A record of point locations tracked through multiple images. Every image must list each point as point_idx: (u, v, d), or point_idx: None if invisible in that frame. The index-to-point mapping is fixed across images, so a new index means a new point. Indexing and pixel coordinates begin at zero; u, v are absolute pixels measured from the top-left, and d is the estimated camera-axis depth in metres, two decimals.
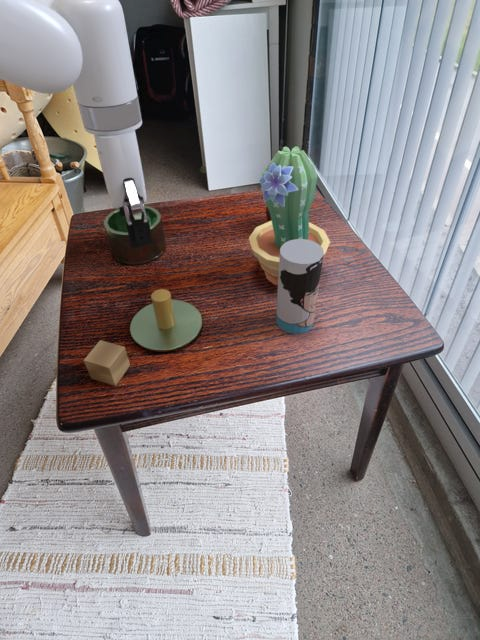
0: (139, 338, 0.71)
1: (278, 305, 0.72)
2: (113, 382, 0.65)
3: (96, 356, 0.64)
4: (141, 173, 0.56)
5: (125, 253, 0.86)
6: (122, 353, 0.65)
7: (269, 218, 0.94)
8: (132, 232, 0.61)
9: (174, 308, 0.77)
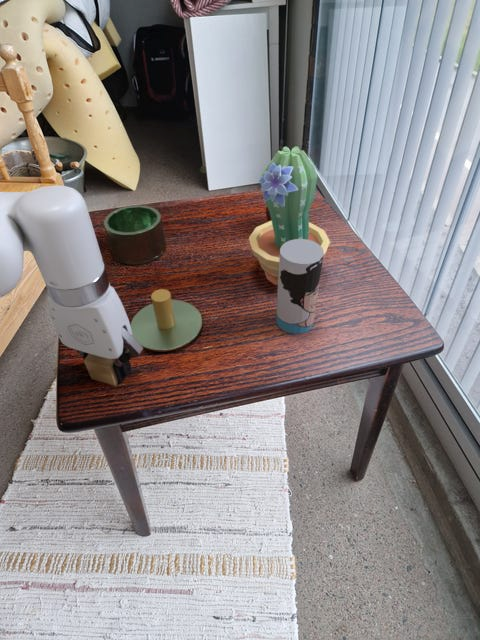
0: (139, 338, 0.71)
1: (278, 305, 0.72)
2: (113, 382, 0.65)
3: (96, 356, 0.64)
4: None
5: (125, 253, 0.86)
6: None
7: (269, 218, 0.94)
8: (119, 370, 0.64)
9: (174, 308, 0.77)
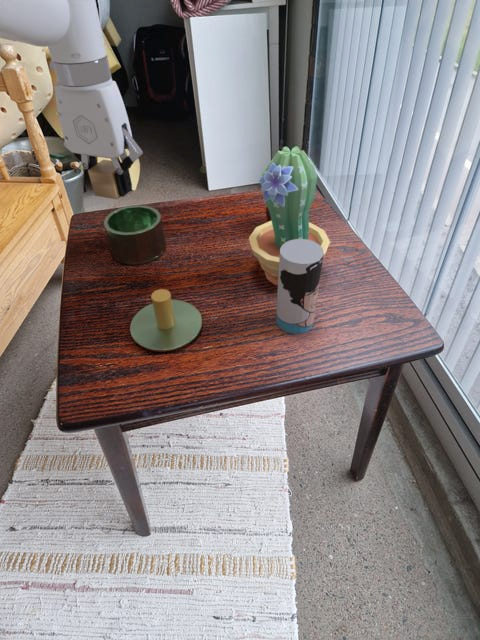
0: (139, 338, 0.71)
1: (278, 305, 0.72)
2: (115, 194, 0.70)
3: (99, 168, 0.69)
4: (127, 118, 0.65)
5: (125, 253, 0.86)
6: None
7: (269, 218, 0.94)
8: (121, 181, 0.70)
9: (174, 308, 0.77)
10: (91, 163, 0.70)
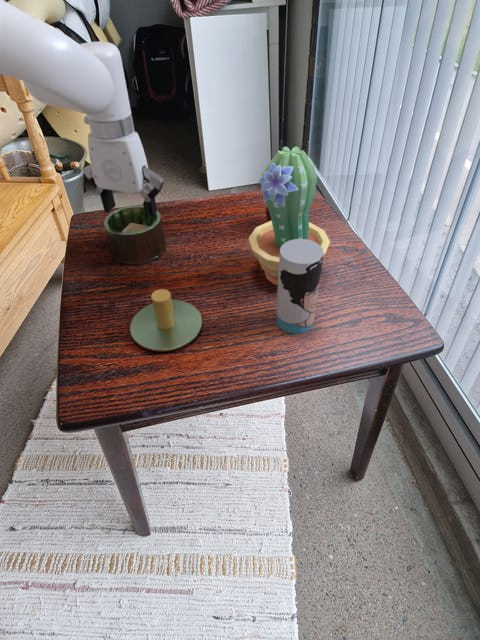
0: (139, 338, 0.71)
1: (278, 305, 0.72)
2: None
3: (129, 231, 0.89)
4: (146, 160, 0.79)
5: (125, 253, 0.86)
6: None
7: (269, 218, 0.94)
8: (148, 207, 0.82)
9: (174, 308, 0.77)
10: (103, 189, 0.84)
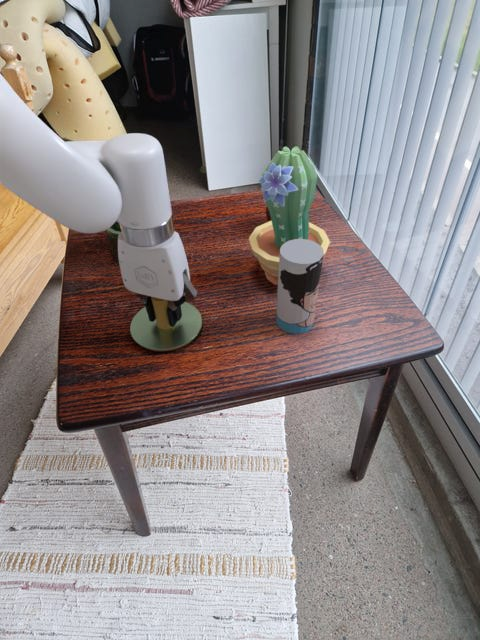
0: (139, 338, 0.71)
1: (278, 305, 0.72)
2: None
3: None
4: None
5: None
6: None
7: (269, 218, 0.94)
8: (172, 314, 0.70)
9: None
10: (149, 298, 0.70)
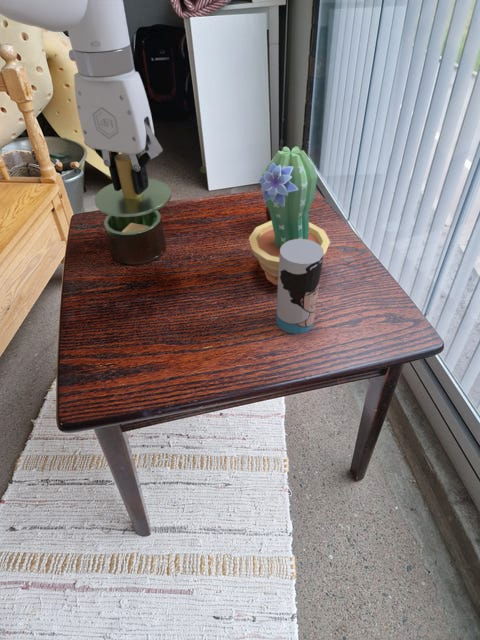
0: (103, 206, 0.68)
1: (278, 305, 0.72)
2: None
3: (129, 231, 0.89)
4: (149, 111, 0.61)
5: (125, 253, 0.86)
6: None
7: (269, 218, 0.94)
8: (137, 179, 0.67)
9: None
10: (113, 160, 0.66)
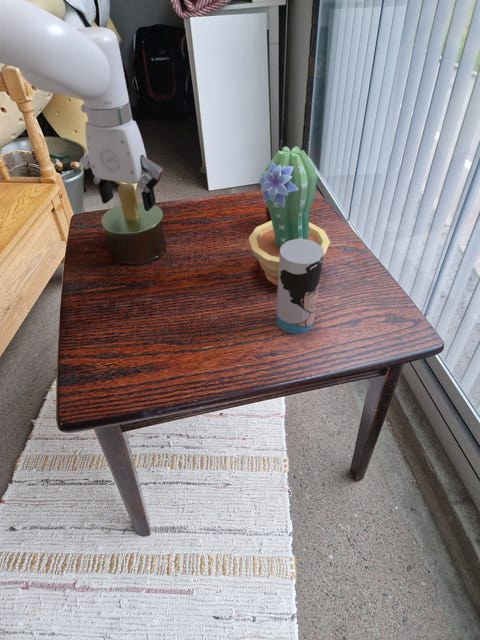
0: (108, 226, 0.84)
1: (278, 305, 0.72)
2: None
3: None
4: (144, 150, 0.78)
5: (125, 253, 0.86)
6: None
7: (269, 218, 0.94)
8: (147, 198, 0.81)
9: (140, 207, 0.90)
10: (101, 179, 0.82)
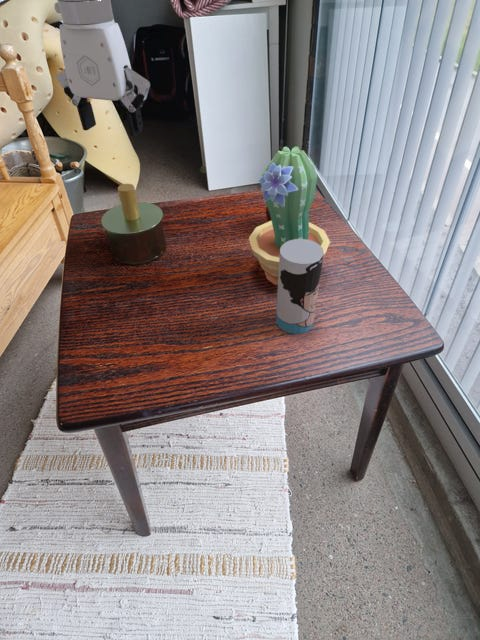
0: (108, 226, 0.84)
1: (278, 305, 0.72)
2: None
3: None
4: (129, 61, 0.68)
5: (125, 253, 0.86)
6: None
7: (269, 218, 0.94)
8: (132, 120, 0.71)
9: (140, 207, 0.90)
10: (81, 100, 0.73)
